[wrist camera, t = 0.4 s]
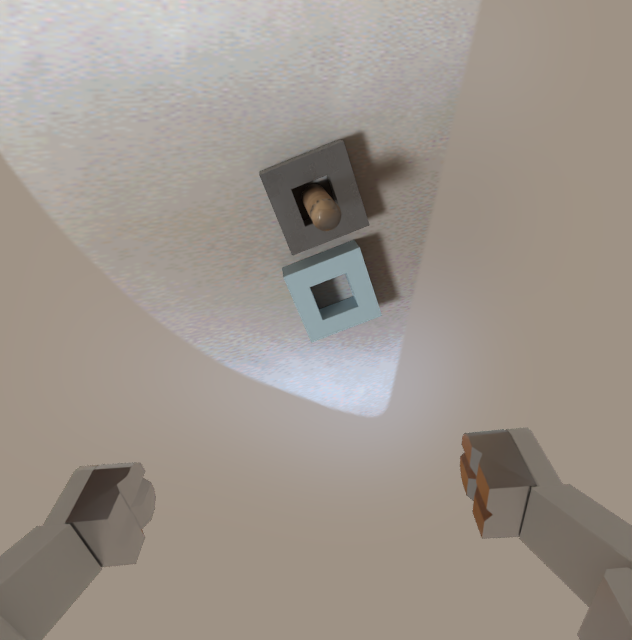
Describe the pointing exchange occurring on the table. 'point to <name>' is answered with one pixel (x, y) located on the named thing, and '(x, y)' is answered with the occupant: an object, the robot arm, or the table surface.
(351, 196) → the socket block
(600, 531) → the robot arm
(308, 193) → the peg
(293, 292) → the block
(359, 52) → the table surface
